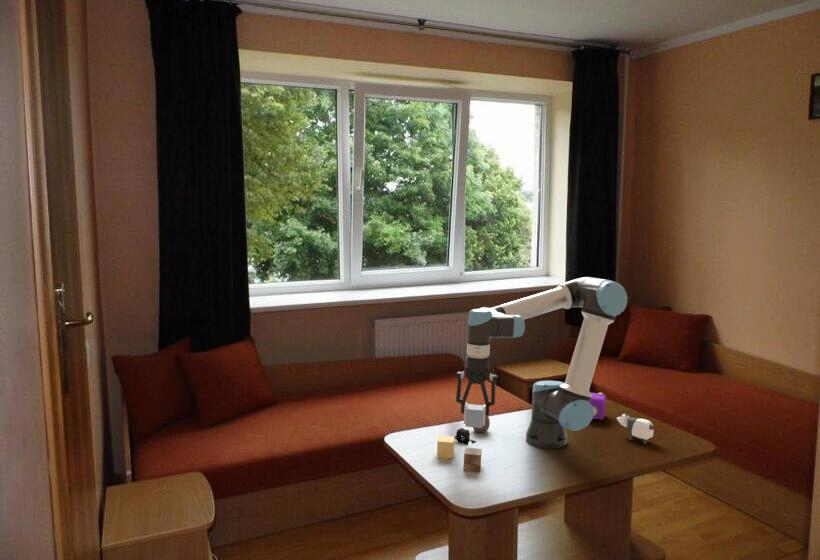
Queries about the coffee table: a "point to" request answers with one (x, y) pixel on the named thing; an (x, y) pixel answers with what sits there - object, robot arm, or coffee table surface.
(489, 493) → the coffee table surface
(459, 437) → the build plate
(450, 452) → the yellow cube
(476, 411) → the gray brick
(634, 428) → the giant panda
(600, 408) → the toy camera
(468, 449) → the walnut brick
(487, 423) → the vase
